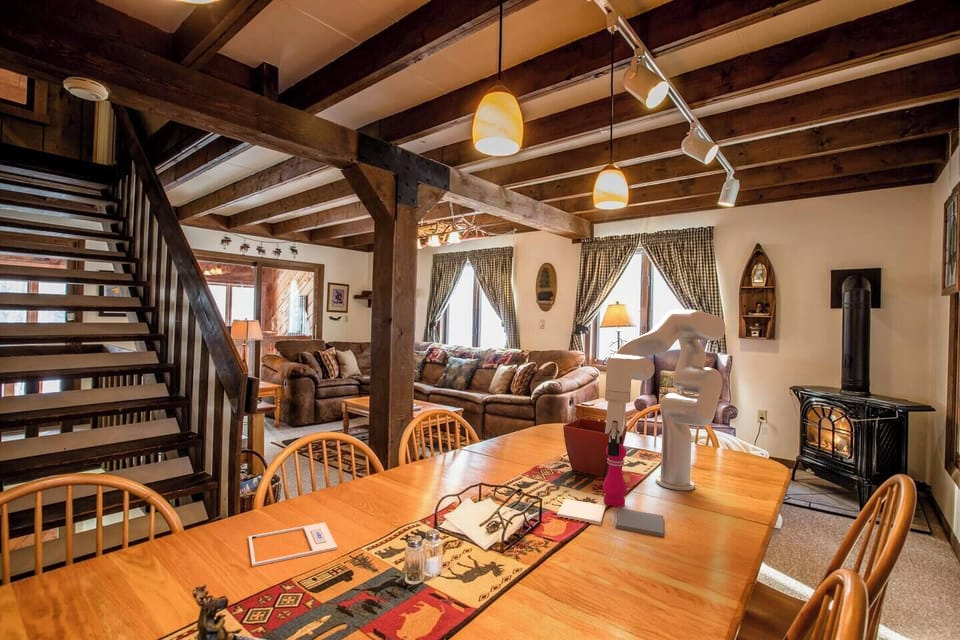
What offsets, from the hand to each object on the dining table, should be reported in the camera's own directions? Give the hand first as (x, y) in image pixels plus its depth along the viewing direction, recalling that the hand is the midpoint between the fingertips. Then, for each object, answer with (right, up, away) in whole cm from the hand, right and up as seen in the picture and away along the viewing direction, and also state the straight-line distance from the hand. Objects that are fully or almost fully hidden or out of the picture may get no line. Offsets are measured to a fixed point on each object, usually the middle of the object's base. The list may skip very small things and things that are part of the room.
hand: (614, 452), depth 143 cm
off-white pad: (-12, -15, -8) cm, 21 cm away
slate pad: (+3, -16, -14) cm, 21 cm away
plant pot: (+1, -16, +32) cm, 36 cm away
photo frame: (-87, -14, -32) cm, 93 cm away
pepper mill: (0, -16, 0) cm, 16 cm away
